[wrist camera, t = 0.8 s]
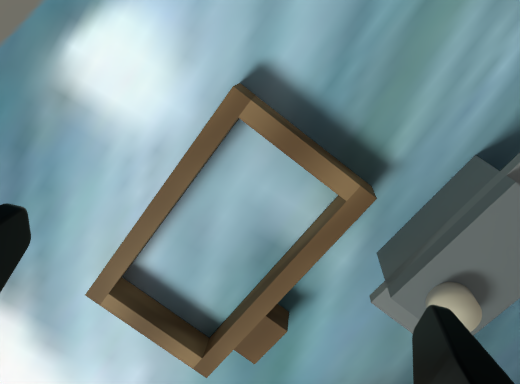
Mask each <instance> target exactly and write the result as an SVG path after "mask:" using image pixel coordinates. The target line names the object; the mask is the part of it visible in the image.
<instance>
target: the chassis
mask: <svg viewBox="0 0 520 384" xmlns="http://www.w3.org/2000/svg"><path fill="white" fill-rule="evenodd" d="M239 118H240V119H241V120H242V121H244V122H245V123H246V124H247V125H249V126H250V127H251V128H253V129H254V130H255V131H256V132H258V133H259V134H260V135H262V136H263V137H264V138H265V139H267V140H268V141H269V142H271V143H272V144H273V145H275V146H276V147H277V148H278V149H280V150H281V151H282V152H284V153H285V154H286V155H287V156H289V157H290V158H291V159H293V160H294V161H295V162H296V163H298V164H299V165H300V166H302V167H303V168H304V169H305V170H307V171H308V172H309V173H311V174H312V175H313V176H315V177H316V178H317V179H318V180H320V181H321V182H322V183H324V184H325V185H326V186H327V187H329V188H330V189H331V190H333V191H334V192H335V193H336V194H338V196H337V197H336V199H335V200H334V201H333V202H332V203H331V204H330V205H329V206H328V207H327V208H326V210H325V211H324V212H323V213H322V214H321V215H320V216H319V217H318V218H317V220H316V221H315V222H314V223H313V224H312V225H311V226H310V227H309V228H308V229H307V231H306V232H305V233H304V234H303V235H302V236H301V237H300V238H299V239H298V241H297V242H296V243H295V244H294V245H293V246H292V247H291V248H290V249H289V250H288V252H287V253H286V254H285V255H284V256H283V257H282V258H281V259H280V260H279V262H278V263H277V264H276V265H275V266H274V267H273V268H272V269H271V270H270V272H269V273H268V274H267V275H266V276H265V277H264V278H263V279H262V280H261V281H260V283H259V284H258V285H257V286H256V287H255V288H254V289H253V290H252V291H251V293H250V294H249V295H248V296H247V297H246V298H245V299H244V300H243V301H242V302H241V304H240V305H239V306H238V307H237V308H236V309H235V310H234V311H233V312H232V314H231V315H230V316H229V317H228V318H227V319H226V320H225V321H224V322H223V323H222V325H221V326H220V327H219V328H218V329H217V330H216V331H215V332H214V333H213V335H212V336H211V337H210V338H209V337H207V336H206V335H204V334H203V333H201V332H200V331H198V330H197V329H196V328H194V327H193V326H191V325H190V324H188V323H187V322H186V321H184V320H183V319H181V318H180V317H178V316H177V315H175V314H174V313H173V312H171V311H170V310H168V309H167V308H165V307H164V306H163V305H161V304H160V303H158V302H157V301H155V300H154V299H153V298H151V297H150V296H148V295H147V294H145V293H144V292H142V291H141V290H140V289H138V288H137V287H135V286H134V285H132V284H131V283H130V282H128V281H127V280H125V279H124V278H122V276H123V275H124V274H125V272H126V271H127V270H128V268H129V267H130V266H131V264H132V263H133V261H134V260H135V259H136V257H137V256H138V255H139V253H140V252H141V251H142V249H143V248H144V247H145V245H146V244H147V243H148V241H149V240H150V238H151V237H152V236H153V234H154V233H155V232H156V230H157V229H158V228H159V226H160V225H161V224H162V222H163V221H164V219H165V218H166V217H167V215H168V214H169V213H170V211H171V210H172V209H173V207H174V206H175V205H176V203H177V202H178V200H179V199H180V198H181V196H182V195H183V194H184V192H185V191H186V190H187V188H188V187H189V186H190V184H191V183H192V182H193V180H194V179H195V177H196V176H197V175H198V173H199V172H200V171H201V169H202V168H203V167H204V165H205V164H206V163H207V161H208V160H209V158H210V157H211V156H212V154H213V153H214V152H215V150H216V149H217V148H218V146H219V145H220V144H221V142H222V141H223V139H224V138H225V137H226V135H227V134H228V133H229V131H230V130H231V129H232V127H233V126H234V125H235V123H236V122H237V121H238V119H239ZM376 199H377V198H376V196H375V193H374V191H373V188H372V186H370V185H369V184H368V183H366V182H365V181H364V180H363V179H361V178H360V177H359V176H358V175H356V174H355V173H354V172H352V171H351V170H350V169H349V168H347V167H346V166H345V165H344V164H342V163H341V162H340V161H338V160H337V159H336V158H335V157H333V156H332V155H331V154H330V153H328V152H327V151H326V150H324V149H323V148H322V147H321V146H319V145H318V144H317V143H316V142H314V141H313V140H312V139H310V138H309V137H308V136H307V135H305V134H304V133H303V132H302V131H300V130H299V129H298V128H296V127H295V126H294V125H293V124H291V123H290V122H289V121H288V120H286V119H285V118H284V117H283V116H281V115H280V114H279V113H277V112H276V111H275V110H274V109H272V108H271V107H270V106H269V105H267V104H266V103H265V102H263V101H262V100H261V99H260V98H258V97H257V96H256V95H255V94H253V93H252V92H251V91H249V90H248V89H247V88H246V87H244V86H243V85H242V84H241V83H239V84H237V85H235V86H233V87H232V89H231V90H230V92H229V93H228V94H227V96H226V97H225V99H224V100H223V101H222V103H221V104H220V106H219V107H218V108H217V110H216V111H215V113H214V114H213V116H212V117H211V118H210V120H209V121H208V123H207V124H206V125H205V127H204V128H203V130H202V131H201V132H200V134H199V135H198V137H197V138H196V139H195V141H194V142H193V144H192V145H191V147H190V148H189V149H188V151H187V152H186V154H185V155H184V156H183V158H182V159H181V161H180V162H179V163H178V165H177V166H176V168H175V169H174V170H173V172H172V173H171V175H170V176H169V178H168V179H167V180H166V182H165V183H164V185H163V186H162V187H161V189H160V190H159V192H158V193H157V194H156V196H155V197H154V199H153V200H152V201H151V203H150V204H149V206H148V207H147V209H146V210H145V211H144V213H143V214H142V216H141V217H140V218H139V220H138V221H137V223H136V224H135V225H134V227H133V228H132V230H131V231H130V232H129V234H128V235H127V237H126V238H125V240H124V241H123V242H122V244H121V245H120V247H119V248H118V249H117V251H116V252H115V254H114V255H113V256H112V258H111V259H110V261H109V262H108V263H107V265H106V266H105V268H104V269H103V271H102V272H101V273H100V275H99V276H98V278H97V279H96V280H95V282H94V283H93V285H92V286H91V287H90V289H89V290H88V292H87V293H86V294H85V295H86V296H87V297H88V298H90V299H91V300H93V301H94V302H96V303H97V304H99V305H100V306H102V307H103V308H105V309H106V310H107V311H109V312H110V313H112V314H113V315H115V316H116V317H118V318H119V319H121V320H122V321H124V322H125V323H127V324H128V325H129V326H131V327H132V328H134V329H135V330H137V331H138V332H140V333H141V334H143V335H144V336H146V337H147V338H148V339H150V340H151V341H153V342H154V343H156V344H157V345H159V346H160V347H162V348H163V349H165V350H166V351H168V352H169V353H170V354H172V355H173V356H175V357H176V358H178V359H179V360H181V361H182V362H184V363H185V364H187V365H188V366H189V367H191V368H192V369H194V370H195V371H197V372H198V373H200V374H201V375H203V376H204V377H206V378H207V377H208V376H209V375H210V374H211V373H212V372H213V371H214V370H215V369H216V368H217V367H218V365H219V364H220V363H221V362H222V361H223V360H224V359H225V358H226V357H227V356H228V355H229V354H230V353H231V352H232V351H233V350H235V351H236V352H238V353H239V354H241V355H242V356H244V357H245V358H246V359H248V360H249V361H251V362H252V363H254V364H255V363H256V362H257V361H258V360H259V359H260V358H261V357H262V356H263V355H264V354H265V353H266V352H267V351H268V350H269V349H270V348H271V347H272V346H273V345H274V344H275V343H276V342H277V341H278V340H279V339H280V338H281V337H282V336H283V335H284V334H285V333H286V332H287V329H288V318H289V312H288V311H287V310H286V309H284V308H283V307H282V306H280V305H279V304H277V303H278V302H279V301H280V300H281V299H282V298H283V297H284V296H285V295H286V294H287V293H288V292H289V291H290V290H291V289H292V287H293V286H294V285H295V284H296V283H297V282H298V281H299V280H300V279H301V278H302V277H303V276H304V275H305V274H306V273H307V272H308V271H309V270H310V268H311V267H312V266H313V265H314V264H315V263H316V262H317V261H318V260H319V259H320V258H321V257H322V256H323V255H324V254H325V253H326V252H327V251H328V250H329V248H330V247H331V246H332V245H333V244H334V243H335V242H336V241H337V240H338V239H339V238H340V237H341V236H342V235H343V234H344V233H345V232H346V231H347V229H348V228H349V227H350V226H351V225H352V224H353V223H354V222H355V221H356V220H357V219H358V218H359V217H360V216H361V215H362V214H363V213H364V212H365V211H366V209H367V208H368V207H369V206H370V205H371V204H372V203H373V202H374V201H375V200H376Z"/></svg>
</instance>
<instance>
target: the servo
mask: <svg viewBox="0 0 520 384" xmlns="http://www.w3.org/2000/svg"><path fill="white" fill-rule="evenodd" d="M377 256H378V259H379V262H380V265H381V269H382V272H383V275H384V278H385V281H384V282H383V283H382V284H381V285H380V286H379V287H378V288H377V289H376V290H375V291H374V292H373V293H372V294H371V295H370V300H371V303H372V304H374V305H375V306H376V307H378V308H379V309H380V310H382V311H383V312H384V313H386V314H387V315H388V316H390V317H391V318H392V319H394V320H395V321H396V322H398V323H399V324H400V325H402V326H403V327H404V328H406V329H407V330H408V331H410V332H411V333H412V334H413V331H414V328H415V326H416V325H417V323H418V321H419V320H420V318H421V316H422V315H423V313H424V311H425V310H426V308H427V307H428V306H429V305H437V306H441V307H445V308H448V309H450V310H451V311H452V312H453V313H454V314H455V315H456V316H457V318H458V319H459V320H460V321H461V322H462V323H463V324H464V326H465V327H466V328H467V329H468V330H469V331H470V333H471V334H472V335H475V334H476V333H477V332H478V331H479V330H481V329H482V328H483V327H484V326H486V325H487V324H488V323H489V322H491V321H492V320H493V319H494V318H496V317H497V316H498V315H499V314H500V313H502V312H503V311H504V310H505V309H507V308H508V307H509V306H510V305H512V304H513V303H514V302H515V301H516V300H518V299H519V298H520V153H519V154H518V155H517V156H516V157H514V158H513V159H512V160H511V161H510V162H509V163H508V164H507V165H506V166H505V167H504V168H503V169H502V170H501V171H499V170H497V169H496V168H494V167H493V166H491V165H490V164H488V163H487V162H485V161H484V160H482V159H481V158H479V157H478V156H476V155H475V156H474V157H473V158H472V159H471V160H470V161H469V162H468V163H467V164H466V165H465V166H464V167H463V168H462V169H461V170H460V171H459V172H458V173H457V174H456V175H455V176H454V177H453V178H452V179H451V180H450V181H449V182H448V183H447V184H446V185H445V186H444V187H443V188H442V189H441V190H440V191H438V192H437V193H436V194H435V195H434V196H433V197H432V198H431V199H430V200H429V201H428V202H427V203H426V204H425V205H424V206H423V207H422V208H421V209H420V210H419V211H418V212H417V213H416V214H415V215H414V216H413V217H412V218H411V219H410V220H409V221H408V222H407V223H406V224H405V225H404V226H403V227H402V228H401V229H400V230H399V231H398V232H397V233H396V234H395V235H394V236H393V237H392V238H391V239H390V240H389V241H388V242H387V243H386V244H385V245H384V246H383V247H382V248H381V249H380V250H379V251H378V252H377Z"/></svg>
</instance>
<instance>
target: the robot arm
mask: <svg viewBox="0 0 520 384" xmlns="http://www.w3.org/2000/svg"><path fill="white" fill-rule="evenodd" d="M30 240H31V232H30V225H29V219H28V213H27V210H26V209H25V208H24V207H21V206H17V205H13V204H2V205H0V292H1V291H2V289H3V287H4V286H5V284H6V282H7V281H8V279H9V277H10V276H11V274H12V273H13V271H14V269H15V268H16V266H17V264H18V263H19V261H20V259H21V258H22V256H23V254H24V253H25V251H26V250H27V248H28V246H29V244H30ZM412 344H413V381H414V384H514V382H513V381H512V380H511V379H510V378H509V377H508V375H507V374H506V373H505V372H504V371H503V370H502V368H501V367H500V366H499V365H498V364H497V363H496V362H495V360H494V359H493V358H492V357H491V356H490V355H489V353H488V352H487V351H486V350H485V349H484V348H483V346H482V345H481V344H480V343H479V342H478V341H477V340H476V338H475V337H474V336H473V335H472V334H471V333H470V331H469V330H468V329H467V328H466V327H465V326H464V324H463V323H462V322H461V321H460V320H459V319H458V318H457V316H456V315H455V314H454V313H453V312H452V311H451V310H450V309H448V308H445V307H441V306H437V305H429V306H428V307H427V308H426V310H425V311H424V313H423V315H422V316H421V318H420V320H419V321H418V323H417V325H416V326H415V328H414V331H413V337H412Z"/></svg>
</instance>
